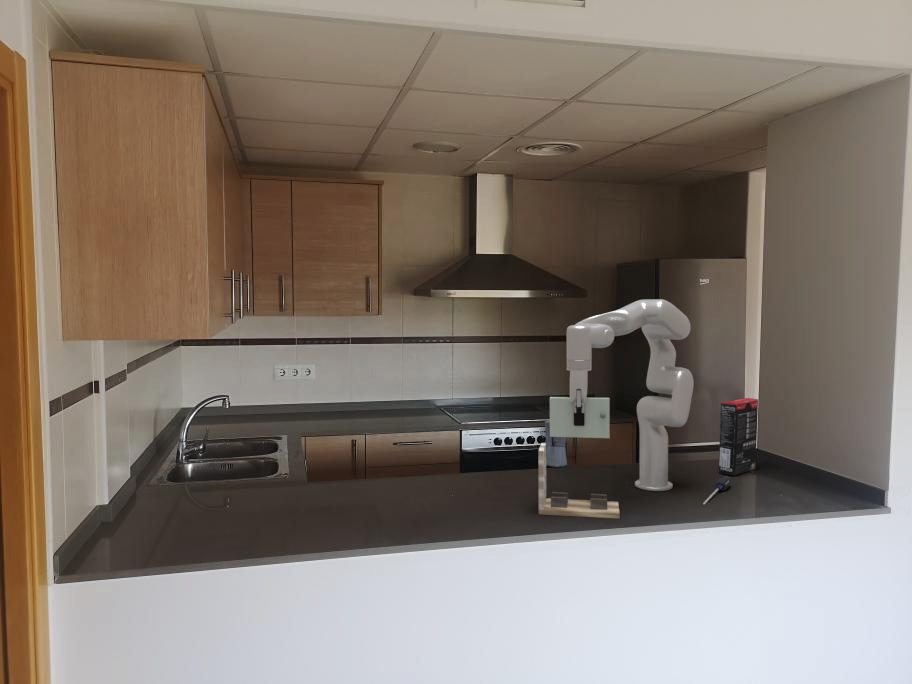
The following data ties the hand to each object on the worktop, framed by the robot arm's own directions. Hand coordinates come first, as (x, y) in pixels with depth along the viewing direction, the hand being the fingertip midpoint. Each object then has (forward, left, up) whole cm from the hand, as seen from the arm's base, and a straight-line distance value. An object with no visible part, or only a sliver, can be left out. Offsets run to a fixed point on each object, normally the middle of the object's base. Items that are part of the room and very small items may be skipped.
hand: (579, 424), depth 203 cm
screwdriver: (-24, +44, -27) cm, 57 cm away
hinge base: (0, 0, -27) cm, 27 cm away
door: (0, 0, -4) cm, 4 cm away
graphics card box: (-57, +58, -27) cm, 86 cm away
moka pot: (-56, -10, -27) cm, 63 cm away
